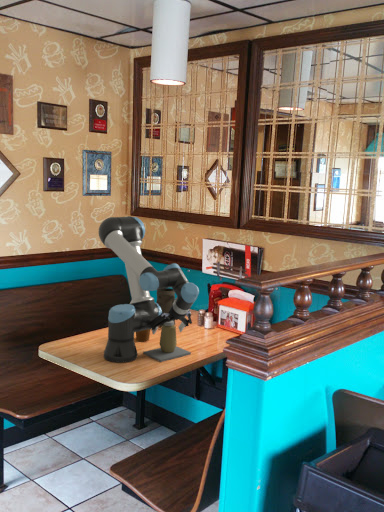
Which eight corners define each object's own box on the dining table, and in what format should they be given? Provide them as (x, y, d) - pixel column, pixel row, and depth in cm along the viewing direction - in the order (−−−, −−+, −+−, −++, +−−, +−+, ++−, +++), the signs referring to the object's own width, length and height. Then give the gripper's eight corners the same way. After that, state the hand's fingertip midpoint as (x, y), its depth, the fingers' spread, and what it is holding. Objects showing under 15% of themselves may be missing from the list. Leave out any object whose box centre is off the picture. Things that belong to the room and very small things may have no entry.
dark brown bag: (151, 323, 295) (152, 288, 292) (165, 320, 302) (167, 286, 299) (168, 330, 284) (170, 294, 281) (183, 327, 291) (185, 292, 288)
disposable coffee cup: (143, 344, 260) (144, 320, 258) (129, 339, 266) (129, 316, 264) (156, 339, 268) (156, 316, 266) (142, 335, 273) (142, 313, 272)
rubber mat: (160, 362, 237) (160, 359, 237) (143, 353, 247) (143, 351, 247) (190, 354, 249) (190, 352, 249) (172, 346, 259) (172, 344, 259)
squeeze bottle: (174, 354, 245) (175, 316, 242) (157, 352, 246) (158, 315, 243) (178, 349, 253) (179, 312, 250) (161, 347, 254) (163, 310, 251)
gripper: (155, 317, 227) (143, 340, 243) (208, 313, 237) (192, 335, 253) (151, 302, 231) (139, 325, 247) (203, 298, 241) (188, 321, 257)
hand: (166, 330), depth 250 cm, fingers open, 13 cm apart
